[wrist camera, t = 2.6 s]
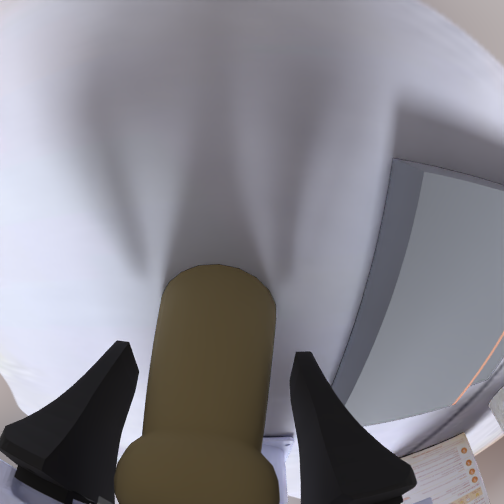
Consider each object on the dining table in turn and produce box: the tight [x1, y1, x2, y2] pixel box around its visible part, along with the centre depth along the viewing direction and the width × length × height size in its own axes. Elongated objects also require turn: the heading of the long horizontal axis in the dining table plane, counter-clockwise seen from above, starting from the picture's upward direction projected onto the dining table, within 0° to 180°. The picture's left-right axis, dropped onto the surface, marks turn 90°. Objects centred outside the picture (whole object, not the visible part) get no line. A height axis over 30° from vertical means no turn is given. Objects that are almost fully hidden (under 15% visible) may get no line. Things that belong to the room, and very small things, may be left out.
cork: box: [114, 264, 280, 504], centre depth 10 cm, size 6×6×11 cm
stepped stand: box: [332, 158, 504, 427], centre depth 14 cm, size 17×17×3 cm
